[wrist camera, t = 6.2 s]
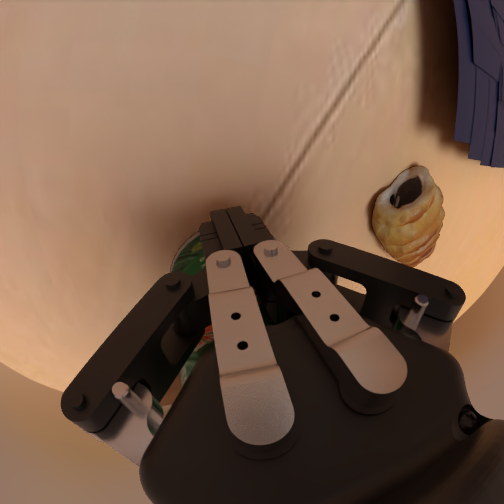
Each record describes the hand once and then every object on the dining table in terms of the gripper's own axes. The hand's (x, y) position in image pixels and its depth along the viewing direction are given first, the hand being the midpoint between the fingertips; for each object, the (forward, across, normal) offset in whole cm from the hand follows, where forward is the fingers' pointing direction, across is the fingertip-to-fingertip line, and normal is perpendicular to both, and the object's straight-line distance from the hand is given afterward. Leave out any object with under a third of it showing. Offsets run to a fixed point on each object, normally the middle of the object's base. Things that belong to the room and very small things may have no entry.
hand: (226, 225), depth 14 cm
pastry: (+3, -15, +3) cm, 16 cm away
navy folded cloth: (+3, -30, -14) cm, 33 cm away
